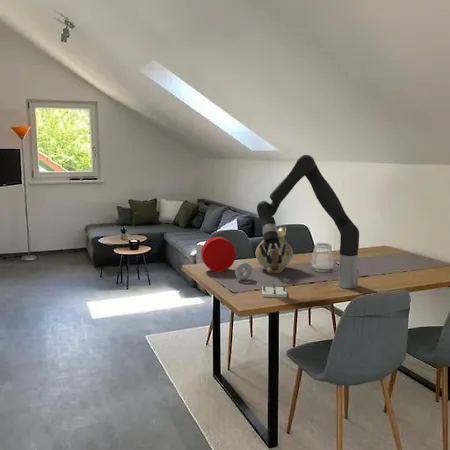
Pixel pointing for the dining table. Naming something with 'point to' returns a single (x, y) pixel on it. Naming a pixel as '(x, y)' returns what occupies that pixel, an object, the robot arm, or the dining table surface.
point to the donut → (247, 273)
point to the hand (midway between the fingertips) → (275, 262)
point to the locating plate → (274, 291)
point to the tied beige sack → (288, 249)
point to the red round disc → (218, 254)
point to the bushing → (274, 261)
